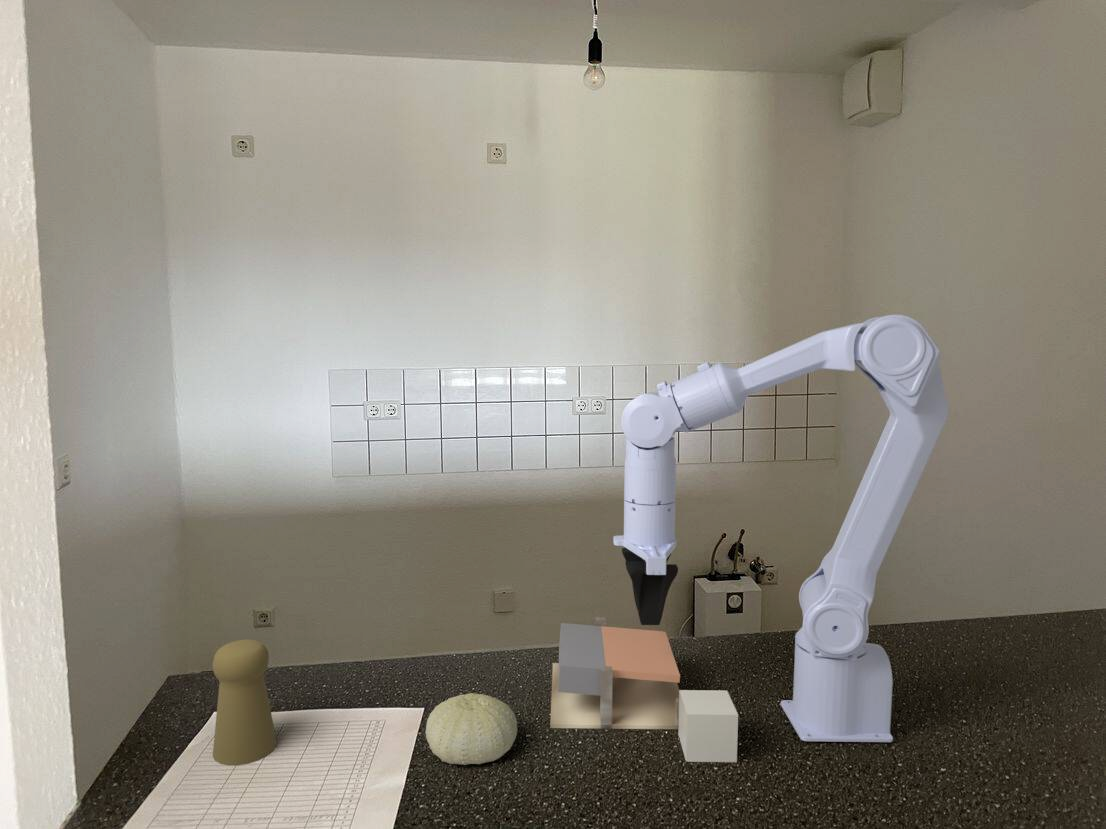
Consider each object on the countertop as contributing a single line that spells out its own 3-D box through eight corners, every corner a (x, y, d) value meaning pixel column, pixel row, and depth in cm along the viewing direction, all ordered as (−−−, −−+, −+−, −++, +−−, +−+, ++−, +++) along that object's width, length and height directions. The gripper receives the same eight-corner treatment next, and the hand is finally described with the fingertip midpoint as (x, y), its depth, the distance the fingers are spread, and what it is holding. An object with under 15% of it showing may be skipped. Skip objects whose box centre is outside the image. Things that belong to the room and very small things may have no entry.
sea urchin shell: (512, 759, 71) (455, 697, 71) (457, 807, 72) (401, 746, 73) (534, 711, 79) (482, 656, 80) (484, 755, 81) (434, 701, 82)
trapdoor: (663, 654, 93) (665, 631, 92) (677, 702, 81) (680, 675, 80) (559, 646, 93) (561, 622, 92) (558, 692, 81) (560, 665, 81)
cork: (214, 771, 72) (208, 662, 71) (210, 741, 77) (205, 639, 76) (280, 755, 75) (276, 650, 73) (272, 727, 80) (268, 628, 79)
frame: (671, 666, 94) (671, 617, 94) (690, 729, 79) (691, 671, 79) (552, 665, 95) (552, 616, 94) (550, 728, 80) (550, 669, 79)
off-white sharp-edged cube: (725, 735, 78) (727, 690, 78) (736, 762, 74) (738, 714, 73) (678, 735, 79) (679, 690, 78) (685, 762, 74) (687, 714, 73)
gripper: (610, 486, 91) (609, 594, 92) (618, 515, 76) (617, 642, 78) (668, 486, 91) (666, 594, 92) (687, 515, 76) (684, 643, 78)
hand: (647, 616), depth 85 cm, fingers open, 4 cm apart
